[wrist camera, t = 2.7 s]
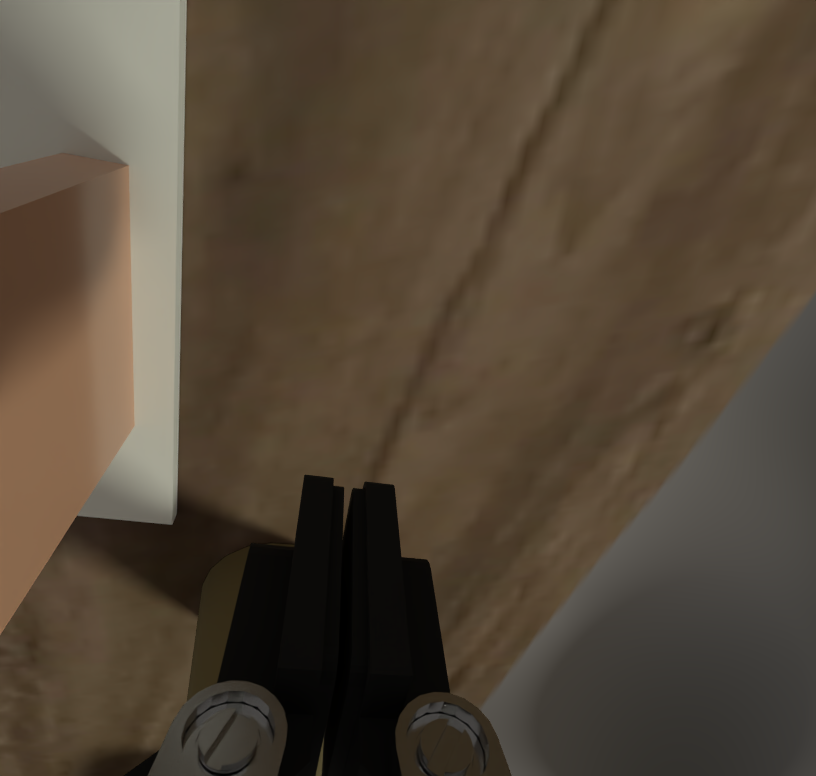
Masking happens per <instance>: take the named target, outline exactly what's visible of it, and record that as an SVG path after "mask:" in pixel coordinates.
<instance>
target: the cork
mask: <svg viewBox="0 0 816 776" xmlns="http://www.w3.org/2000/svg"><path fill="white" fill-rule="evenodd" d="M267 545H277V546H288V547H294V545H290V544H277V543H268V544H267ZM249 548H250V546H249V547H245V548H243V549H241V550H238V551H236V552H234V553H232V554H229V555H227V556H225V557H224V558H223V559H222V560H221V561H220V562H218V563H217V564H216V565H215V566H214V567H213V568H212V569H210V571H209V573H208V575H207V577H206V579H205V581H204V583H203V585H202V591H201V599H200V606H199V614H198V621H197V629H196V636H195V644H194V651H193V659H192V666H191V674H190V681H189V689H188V696H187V701H188V700H190V699H191V698H192V697H193V696H194V695H195V694H196V693H198V692H199V691H201V690H203V689H205V688H207V687H209V686H211V685H213V684H217V681H218V676H219V672H220V668H221V664H222V660H223V656H224V651H225V647H226V643H227V639H228V635H229V631H230V626H231V622H232V618H233V614H234V610H235V606H236V601H237V597H238V593H239V589H240V585H241V580H242V576H243V572H244V568H245V564H246V560H247V555H248V551H249ZM323 742H324V738H323ZM322 761H323V743H322V748H321V752H320V757H319V762H318V766H317V771H316V776H321V773H322Z"/></svg>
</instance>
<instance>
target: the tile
mask: <svg viewBox="0 0 816 776" xmlns="http://www.w3.org/2000/svg"><path fill="white" fill-rule="evenodd" d="M134 426H135V419H134V374H133V329H132V284H131V238H130V193H129V165H125V164H119V163H114V162H109V161H104V160H98V159H93V158H88V157H82V156H77V155H72V154H67V153H59V154H55V155H51V156H47V157H43V158H39V159H35V160H31V161H26V162H22V163H18V164H14V165H10V166H6V167H2V168H0V634H1V633H2V631H3V630H4V628H5V627H6V625H7V624H8V622H9V620H10V619H11V617H12V616H13V614H14V613H15V611H16V610H17V608H18V606H19V605H20V603H21V602H22V600H23V599H24V597H25V596H26V594H27V592H28V591H29V589H30V588H31V586H32V585H33V583H34V582H35V580H36V578H37V577H38V575H39V574H40V572H41V571H42V569H43V568H44V566H45V564H46V563H47V561H48V560H49V558H50V557H51V555H52V554H53V552H54V551H55V549H56V547H57V546H58V544H59V543H60V541H61V540H62V538H63V537H64V535H65V533H66V532H67V530H68V529H69V527H70V526H71V524H72V523H73V521H74V519H75V518H76V516H77V515H78V513H79V512H80V510H81V509H82V507H83V505H84V504H85V502H86V501H87V499H88V498H89V496H90V495H91V493H92V491H93V490H94V488H95V487H96V485H97V484H98V482H99V481H100V479H101V477H102V476H103V474H104V473H105V471H106V470H107V468H108V467H109V465H110V464H111V462H112V460H113V459H114V457H115V456H116V454H117V453H118V451H119V450H120V448H121V446H122V445H123V443H124V442H125V440H126V439H127V437H128V436H129V434H130V432H131V431H132V429H133V428H134Z"/></svg>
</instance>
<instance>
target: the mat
mask: <svg viewBox="0 0 816 776" xmlns="http://www.w3.org/2000/svg"><path fill="white" fill-rule="evenodd" d="M186 11H187V0H0V168H2V167H6V166H10V165H14V164H18V163H22V162H26V161H31V160H35V159H39V158H43V157H47V156H51V155H55V154H59V153H67V154H72V155H77V156H82V157H88V158H93V159H98V160H104V161H109V162H114V163H119V164H125V165H129V193H130V238H131V284H132V329H133V374H134V419H135V426H134V428H133V429H132V431H131V432H130V434H129V436H128V437H127V439H126V440H125V442H124V443H123V445H122V446H121V448H120V450H119V451H118V453H117V454H116V456H115V457H114V459H113V460H112V462H111V464H110V465H109V467H108V468H107V470H106V471H105V473H104V474H103V476H102V477H101V479H100V481H99V482H98V484H97V485H96V487H95V488H94V490H93V491H92V493H91V495H90V496H89V498H88V499H87V501H86V502H85V504H84V505H83V507H82V509H81V510H80V512H79V513H78V515H77V516H85V517H96V518H106V519H117V520H127V521H138V522H148V523H159V524H169V525H172V524H173V522H174V519H175V517H176V515H177V485H178V432H179V379H180V327H181V274H182V222H183V169H184V117H185V64H186Z"/></svg>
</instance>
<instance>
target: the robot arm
mask: <svg viewBox="0 0 816 776" xmlns="http://www.w3.org/2000/svg"><path fill="white" fill-rule="evenodd" d="M333 483H334V479H333V478H329V477H320V476H312V475H304V482H303V489H302V496H301V503H300V510H299V517H298V524H297V531H296V538H295V545H294V547H288V546H277V545H267V544H256V543H251V545H250V548H249V551H248V555H247V560H246V564H245V568H244V572H243V576H242V580H241V585H240V589H239V593H238V597H237V601H236V606H235V610H234V614H233V618H232V622H231V626H230V631H229V635H228V639H227V643H226V647H225V651H224V656H223V660H222V664H221V668H220V672H219V676H218V681H217V684H213V685H211V686H209V687H207V688H205V689H203V690H201V691H199V692H198V693H196V694H195V695H194V696H193V697H192V698H191V699H190V700H188V701H187V702H186V703H185V704H184V705H183V706H182V708H181V709H180V711H179V712H178V714H177V715H176V717H175V719H174V720H173V722H172V724H171V726H170V728H169V730H168V733H167V735H166V737H165V739H164V741H163V743H162V746H161V748H160V750H159V751H157V752H156V753H155V754H153V755H152V756H150V757H149V758H148V759H146V760H145V761H143V762H142V763H141V764H139V765H138V766H137V767H135V768H134V769H132V770H131V771H130V772H128V773H127V774H125V775H124V776H316V771H317V766H318V762H319V757H320V752H321V748H322V743H323V761H322V776H511V773H510V770H509V767H508V764H507V762H506V759H505V756H504V754H503V750H502V748H501V745H500V742H499V739H498V737H497V735H496V733H495V731H494V729H493V727H492V725H491V723H490V721H489V720H488V719H487V717H486V716H485V715H484V714H483V713H482V712H481V711H480V710H479V708H478V707H476V706H475V705H473V704H472V703H470V702H469V701H467V700H466V699H464V698H462V697H459V696H456V695H453V694H451V693H450V689H449V683H448V676H447V670H446V664H445V657H444V651H443V644H442V638H441V632H440V625H439V619H438V612H437V606H436V599H435V593H434V587H433V580H432V574H431V568H430V564H429V562H428V560H425V559H415V558H404V557H401V549H400V538H399V528H398V518H397V507H396V497H395V488H394V485H390V484H382V483H373V482H365V483H364V486H363V489H357V488H353V489H352V493H351V498H350V503H349V509H348V514H347V519H346V524H345V530H344V535H343V508H344V487H339V486H333ZM342 538H343V540H342ZM323 738H324V742H323Z"/></svg>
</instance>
